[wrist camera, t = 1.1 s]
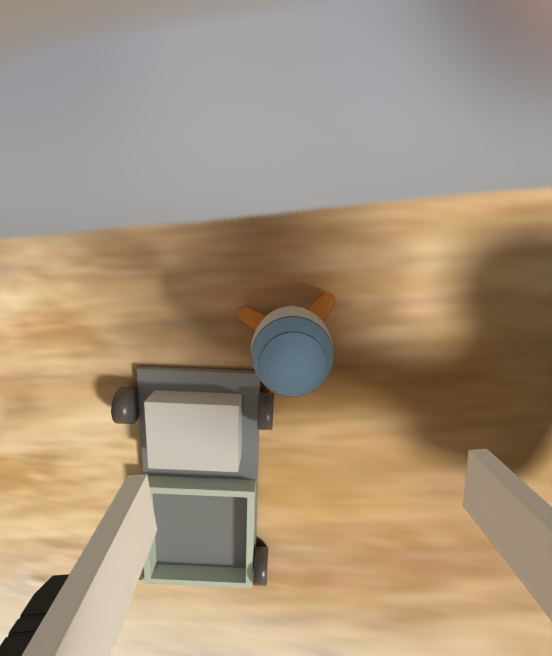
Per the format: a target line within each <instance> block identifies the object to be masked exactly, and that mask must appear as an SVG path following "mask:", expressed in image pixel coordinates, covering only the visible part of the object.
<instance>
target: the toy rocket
mask: <svg viewBox="0 0 552 656" xmlns="http://www.w3.org/2000/svg"><path fill="white" fill-rule="evenodd" d="M334 301H335V296H334V295H333V294H331V293H326V294H323V295H321V296H320V297H319V298H318V299H317V300H316V301H315V302H314V303H313V304H312V305H311V307H310V308H309V309H307V310H306V309H305V308H303V307H298V306H285V307H280V308H278V309H275V310H273V311H272V312H270V313H269V314H267V315H266V316H264V315H262V314H261V313H259V312H257V311H255V310H253V309H250V308H248V307H242V308H240V309H238V312H237V315H238V317H239V318H240V319H241V320H242V321H243V323H245V324H246V325H247V326H249V327H250V328H252V329H254V330H256V331H255V333H254V336H253V338H252V343H251V360H252V364H253V368H254V370H255V372H256V375H257V376H258V378H259V379H260V381H261V382H262V383H263V384H264V385H265V386H266V387H267V388H269V389H270V390H272V391H273V392H275V393H277V394H280V395H283V396H288V397H297V396H303V395H306V394H308V393H311V392H312V391H314V390H316V389H317V388H318V387H319V386H320V385H321V384H322V383H323V382H324V381H325V380H326V378H327V377H328V375H329V373H330V371H331V368H332V364H333V357H334V349H333V343H332V338H331V335H330V333H329V330H328V329H327V327H326V325H325V324H324V322H323V321H322V319H323V318H324V317H325V316H326V315H327V314H328V313H329V311H330V310H331V308H332V307H333V304H334Z"/></svg>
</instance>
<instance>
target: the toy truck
mask: <svg viewBox="0 0 552 656" xmlns="http://www.w3.org/2000/svg"><path fill="white" fill-rule="evenodd" d="M136 371H137V386H138V388H135V387H121V388H119V389H118V390H117V392H116V393H115V396H114V398H113V401H112V408H111V414H112V419H113V421H114V422H115V423H118V424H134V423H135V422H136V421H137V419H138V417H140V432H141V447H142V462H143V474H147V476H148V482H149V487H150V493H151V498H152V504H153V509H154V515H155V520H156V526H157V532H156V535H155V537H154V540H153V543H152V545H151V548H150V551H149V553H148V556H147V559H146V561H145V564H144V567H143V569H142V572H141V575H140V577H139V580H142V579H143V578H144V580H145V584H165V585H186V586H208V587H229V588H250V589H252V583H253V585H259V586H266V584H267V562H268V547H261V546H256V529H257V492H258V454H259V429H261V430H272V423H273V399H274V393H260V379H259V378H258V376H257V375H256V372H255V371H253V370H228V369H203V368H178V367H153V366H139V367H138V368H137V369H136ZM253 573H254V576H253Z"/></svg>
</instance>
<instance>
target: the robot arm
mask: <svg viewBox="0 0 552 656" xmlns="http://www.w3.org/2000/svg"><path fill="white" fill-rule="evenodd" d="M463 507H464V508H465V509H466V510H467V512H468V513H469V514H470V516H471V517H472V518H473V520H474V521H475V522H476V523H477V525H478V526H479V527H480V529H481V530H482V531H483V533H484V534H485V535H486V536H487V538H488V539H489V540H490V542H491V543H492V544H493V546H494V547H495V548H496V549H497V551H498V552H499V553H500V555H501V556H502V557H503V559H504V560H505V561H506V562H507V564H508V565H509V566H510V568H511V569H512V570H513V572H514V573H515V574H516V575H517V577H518V578H519V579H520V581H521V582H522V583H523V585H524V586H525V587H526V588H527V590H528V591H529V592H530V594H531V595H532V596H533V598H534V599H535V600H536V601H537V603H538V604H539V605H540V607H541V608H542V609H543V611H544V612H545V613H546V614H547V616H548V617H549V618H550V620H551V621H552V507H551V506H550V505H549V504H548V503H547V502H545V501H544V500H543V499H542V498H541V497H540V496H539V495H538V494H537V493H535V492H534V491H533V490H532V489H531V488H530V487H529V486H528V485H527V484H526V483H524V482H523V481H522V480H521V479H520V478H519V477H518V476H517V475H516V474H514V473H513V472H512V471H511V470H510V469H509V468H508V467H507V466H506V465H505V464H503V463H502V462H501V461H500V460H499V459H498V458H497V457H496V456H495V455H493V454H492V453H491V452H490V451H489V450H488V449H475V450H469V452H468V461H467V471H466V480H465V490H464V499H463ZM156 532H157V526H156V520H155V515H154V509H153V504H152V498H151V493H150V487H149V482H148V476H147V474H141V475H128V476H127V478H126V479H125V481H124V483H123V485H122V486H121V488H120V490H119V491H118V493H117V495H116V496H115V498H114V500H113V502H112V503H111V505H110V507H109V508H108V510H107V512H106V513H105V515H104V517H103V518H102V520H101V522H100V524H99V525H98V527H97V529H96V530H95V532H94V534H93V535H92V537H91V539H90V541H89V542H88V544H87V546H86V547H85V549H84V551H83V552H82V554H81V556H80V558H79V559H78V561H77V563H76V564H75V566H74V568H73V569H72V571H71V573H70V574H68V575H56V576H52V577H51V578H50V579H49V580H48V581H47V582H46V583H45V584H44V585H43V586H42V587H41V588H40V589H39V590H38V591H37V592H36V593H35V594H34V595H33V597H32V598H31V600H30V601H29V603H28V604H27V606H26V607H25V609H24V611H23V612H22V614H21V616H20V619H18V620H17V621H16V623H15V624H14V626H13V627H12V629H11V630H10V632H9V635H8V637H6V638H5V639H4V641H3V642H2V644H1V646H0V656H110V655H111V653H112V650H113V647H114V644H115V642H116V639H117V636H118V634H119V631H120V628H121V626H122V623H123V620H124V618H125V615H126V612H127V610H128V607H129V604H130V602H131V599H132V596H133V594H134V591H135V588H136V585H137V583H138V580H139V577H140V575H141V572H142V569H143V567H144V564H145V561H146V559H147V556H148V553H149V551H150V548H151V545H152V543H153V540H154V537H155V535H156Z"/></svg>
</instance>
